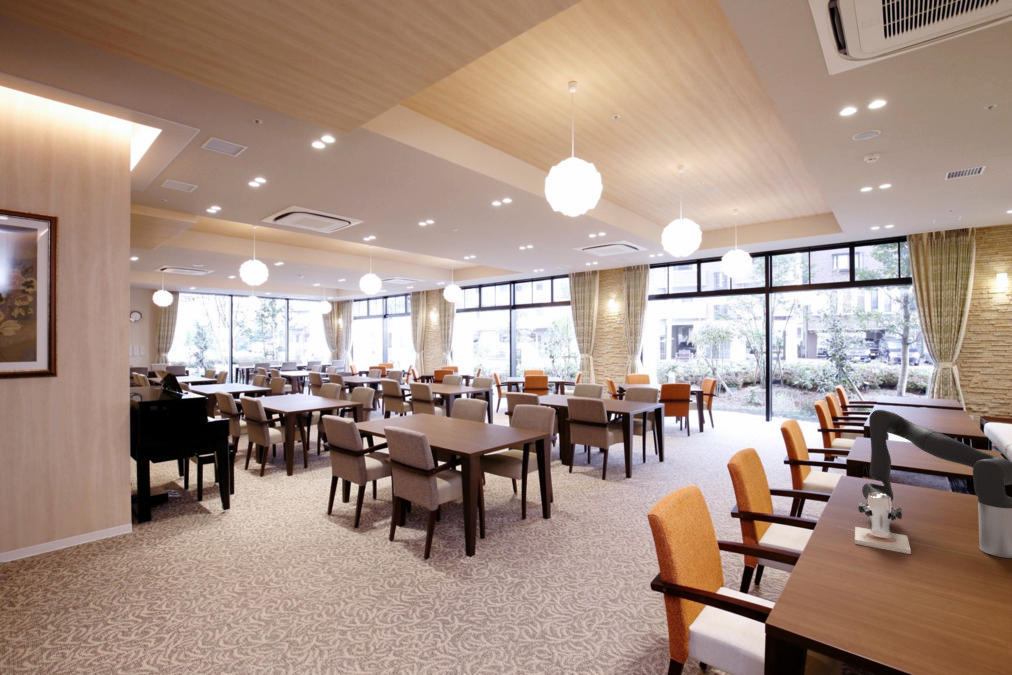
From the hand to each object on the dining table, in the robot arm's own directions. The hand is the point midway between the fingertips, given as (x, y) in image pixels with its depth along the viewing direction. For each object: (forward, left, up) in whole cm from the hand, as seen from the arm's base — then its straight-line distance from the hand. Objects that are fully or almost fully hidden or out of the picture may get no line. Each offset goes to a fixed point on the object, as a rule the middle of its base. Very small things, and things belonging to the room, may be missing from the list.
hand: (880, 515), depth 178 cm
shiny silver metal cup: (0, -2, -8) cm, 9 cm away
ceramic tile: (0, -2, -10) cm, 11 cm away
